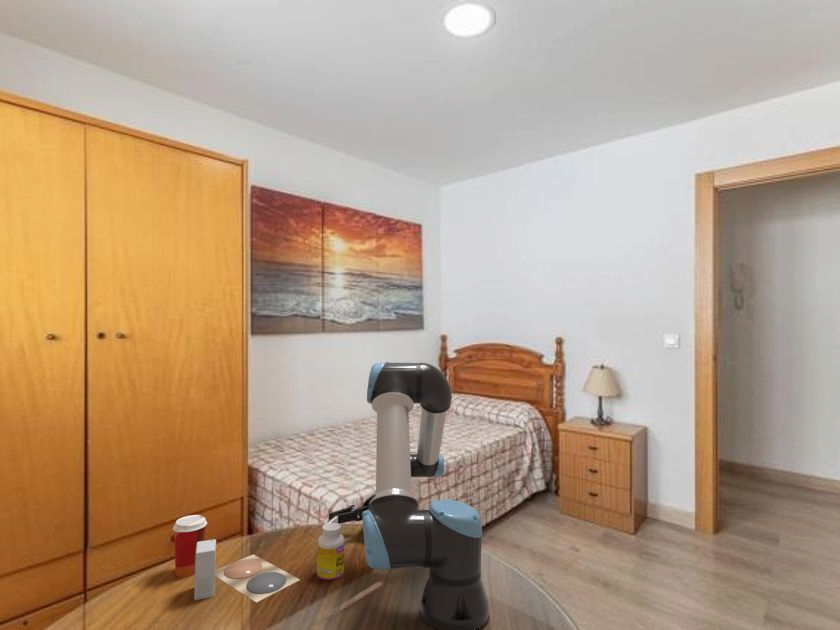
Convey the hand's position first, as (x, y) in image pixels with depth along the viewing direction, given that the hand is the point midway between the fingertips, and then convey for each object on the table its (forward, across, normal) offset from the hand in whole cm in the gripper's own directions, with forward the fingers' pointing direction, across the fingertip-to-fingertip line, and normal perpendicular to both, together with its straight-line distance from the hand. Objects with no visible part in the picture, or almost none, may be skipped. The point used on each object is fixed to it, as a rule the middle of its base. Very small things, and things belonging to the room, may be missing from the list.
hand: (347, 534), depth 123 cm
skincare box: (+27, +23, -7) cm, 36 cm away
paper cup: (+21, +34, -7) cm, 40 cm away
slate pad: (+19, +12, -6) cm, 23 cm away
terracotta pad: (+16, +21, -6) cm, 27 cm away
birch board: (+17, +17, -7) cm, 25 cm away
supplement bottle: (+10, 0, -7) cm, 12 cm away
